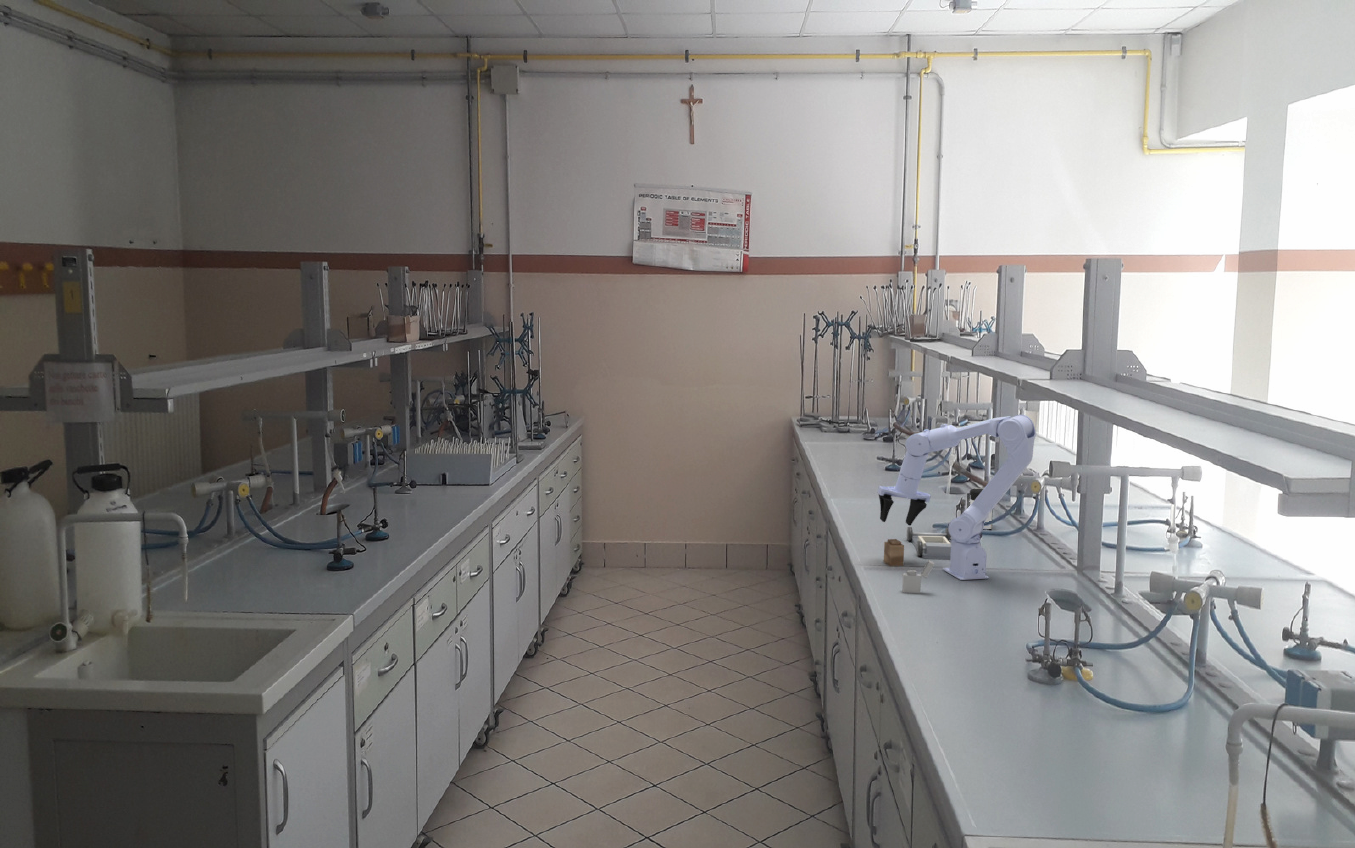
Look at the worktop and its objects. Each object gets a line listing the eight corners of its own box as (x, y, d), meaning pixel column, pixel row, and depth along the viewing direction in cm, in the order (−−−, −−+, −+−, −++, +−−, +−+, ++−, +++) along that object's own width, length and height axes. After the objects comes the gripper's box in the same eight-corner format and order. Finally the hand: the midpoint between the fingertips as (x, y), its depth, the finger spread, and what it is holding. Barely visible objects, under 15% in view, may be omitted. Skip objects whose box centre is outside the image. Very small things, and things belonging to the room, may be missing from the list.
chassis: (964, 559, 261) (964, 545, 261) (919, 558, 262) (920, 544, 262) (947, 539, 283) (947, 525, 283) (905, 537, 284) (906, 524, 283)
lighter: (902, 592, 232) (904, 560, 231) (902, 590, 234) (903, 558, 233) (933, 593, 232) (934, 561, 231) (931, 591, 233) (933, 559, 232)
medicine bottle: (991, 530, 295) (994, 491, 293) (967, 528, 296) (969, 490, 294) (989, 524, 301) (991, 487, 300) (965, 523, 303) (967, 486, 301)
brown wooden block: (903, 565, 255) (904, 542, 255) (890, 566, 255) (891, 543, 254) (896, 561, 260) (897, 538, 259) (883, 561, 259) (884, 538, 258)
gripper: (928, 473, 260) (913, 519, 264) (879, 466, 256) (865, 512, 260) (939, 483, 253) (924, 530, 257) (889, 476, 250) (875, 523, 254)
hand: (895, 522), depth 258 cm, fingers open, 7 cm apart
